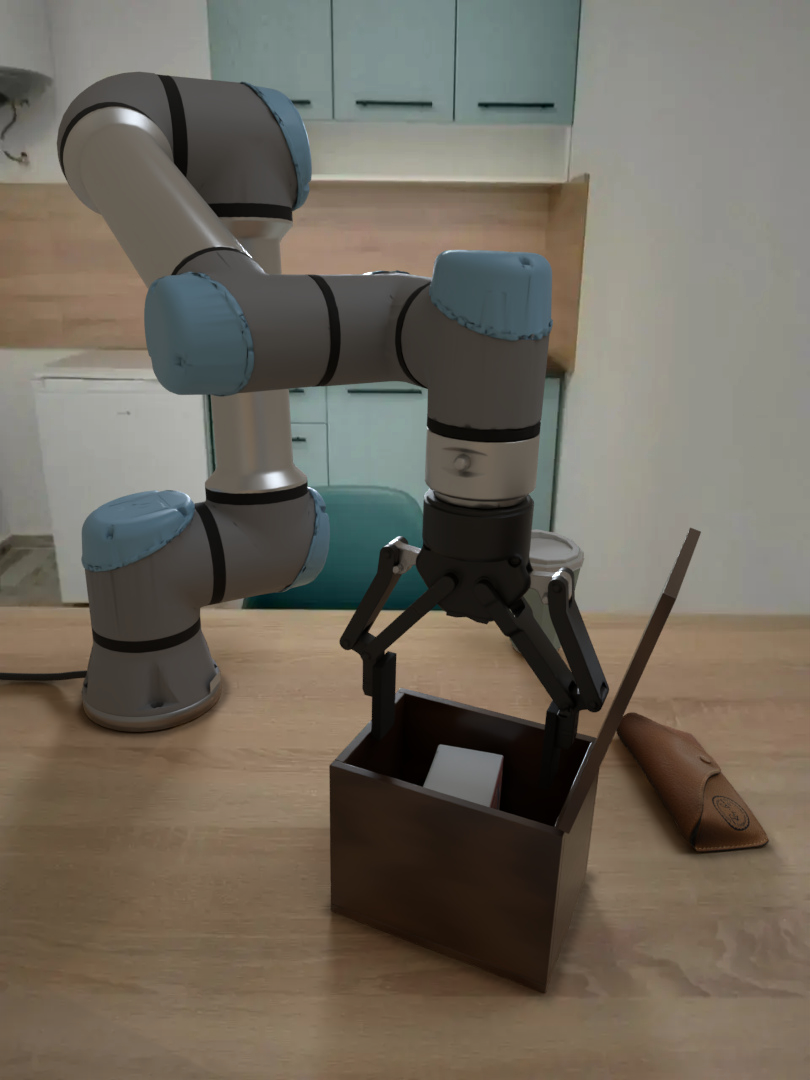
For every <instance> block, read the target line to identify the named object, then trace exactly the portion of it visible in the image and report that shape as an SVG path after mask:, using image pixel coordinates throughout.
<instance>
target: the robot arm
mask: <svg viewBox="0 0 810 1080" xmlns="http://www.w3.org/2000/svg"><path fill="white" fill-rule="evenodd" d="M56 150H57V151H56V152H57V158H58V164H59V166H60V168H61V172H62V174H63V177H64V178H65V180H66V182H67V184H68V186H69V187H70V189H71V190H72V192H73V194H74V195H75V196H76V198H77V199H78V200H79V201H80V202H81V203H82V204H83V205H84V206H85V207H87V208H88V209H90V210H91V211H93V212H94V213H96V214H98V215H100V216H101V217H102V218H103V220H104V221H105V223H106V225H107V226H108V228H109V229H110V232H111V233H112V234H113V236H114V237H115V239H116V241H117V242H118V244H119V245H120V247H121V248H122V250H123V252H124V254H125V255H126V257H127V258H128V260H129V262H130V263H131V265H132V266H133V268H134V270H135V271H136V272H137V275H138V276H139V277H140V279H141V280H142V282H143V284H144V285H145V287H146V288H147V292H146V296H145V298H144V299H145V300H144V308H143V309H144V310H143V324H144V336H145V345H146V350H147V353H148V356H149V357H150V360H151V366H152V367H151V368H152V371H153V374H154V375H155V377H156V379H157V381H158V383H159V384H160V385H161V386H162V387H163V388H164V389H165V390H166V391H168V392H170V393H172V394H176V395H177V396H205V395H209V396H210V402H211V403H210V404H211V413H212V425H213V436H214V437H213V438H214V445H215V446H214V448H215V449H214V450H215V460H216V461H215V462H216V468H215V470H213V472H212V473H211V475H209V477H208V478H206V480H205V482H204V491H205V500H204V501H199V502H194V501H193V500H192V498H191V497H190V496H189V494H187V493H185V492H183V491H180V490H174V489H173V490H172V489H171V490H170V489H165V490H161V491H158V490H157V489H156V490H155V489H154V490H145V491H140V492H135V493H131V494H127V495H123V496H121V497H118V498H115V499H112V500H109V501H108V502H105V503H103V504H101V505H100V506H98V507H97V508H96V509H95V510H93V511H91V513H90V514H89V515H88V516H87V517H86V518H85V520H84V521H83V524H82V527H81V558H80V559H81V565H82V567H83V568H84V575H85V576H84V577H85V584H86V592H87V599H88V600H87V601H88V608H89V617H90V626H91V633H92V634H91V635H92V646H91V650H90V654H89V658H88V664H87V668H86V670H74V671H66V672H65V671H64V672H50V673H49V672H47V673H45V672H44V673H43V672H41V673H38V672H36V673H34V672H33V673H31V672H30V673H29V672H2V671H1V672H0V681H22V682H23V681H25V682H27V681H28V682H47V681H48V682H49V681H51V682H52V681H53V682H54V681H68V680H75V679H84V680H83V682H82V686H81V697H82V707H83V711H84V713H85V715H86V716H87V718H89V719H90V720H91V721H92V722H94V723H95V724H96V725H99V726H101V727H104V728H107V729H109V730H114V731H121V732H131V733H133V732H136V733H142V732H153V731H160V730H165V729H169V728H173V727H177V726H180V725H183V724H186V723H188V722H190V721H192V720H195V719H197V718H198V717H201V716H202V715H204V714H205V713H207V712H208V711H209V710H210V709H211V708H212V707H213V706H214V705H215V704H216V703H217V702H218V700H219V699H220V696H221V693H222V678H221V677H222V676H221V675H222V674H221V669H220V668H219V666H218V664H217V662H216V660H215V659H214V658H213V657H212V654H211V650H210V647H209V645H208V642H207V640H206V638H205V635H204V632H203V629H202V621H201V608H204V607H207V606H212V605H218V604H223V603H227V602H228V603H229V602H233V601H238V600H242V599H247V598H252V597H256V596H257V597H258V596H261V595H267V594H273V593H278V594H279V593H284V592H287V591H288V590H290V589H293V588H297V587H302V586H306V585H308V584H310V583H312V582H314V581H315V580H316V579H317V577H318V576H319V574H320V573H321V572H323V569H324V567H325V565H326V562H327V560H328V556H329V555H328V554H329V551H330V543H331V542H330V541H331V525H330V518H329V514H328V513H326V509H327V505H326V503H325V500H324V498H323V496H322V495H321V494H320V493H319V491H318V490H316V489H314V488H312V487H310V486H309V483H308V481H309V480H308V476H307V474H305V473H304V472H303V471H302V470H301V469H300V468H298V466H296V464H295V462H294V454H293V453H294V452H293V451H294V450H293V439H292V437H293V436H292V435H293V434H292V418H291V404H290V403H291V402H290V389H291V390H292V389H303V388H319V387H334V386H347V385H360V384H373V383H386V382H401V383H407V384H410V385H413V386H416V387H420V388H422V389H426V390H427V411H426V412H427V413H426V436H425V437H426V438H425V462H424V463H425V464H424V466H425V467H424V482H425V484H426V486H427V487H428V488H429V489H428V490H427V491H426V492H424V494H423V504H422V505H423V506H422V529H421V538H422V546H421V547H420V548H419V547H418V546H417V547H416V546H414V545H411V544H409V541H408V539H407V538H406V537H405V536H401V535H398V536H396V537H395V538H393V539H392V540H391V541H389V542H388V543H387V544H386V545H384V546H383V547H381V549H380V550H379V556H378V562H377V569H376V574H375V576H374V577H373V579H372V581H371V583H370V585H369V586H368V588H367V590H366V591H365V593H364V595H363V597H362V599H361V601H360V603H359V604H358V606H357V607H356V609H355V611H354V613H353V615H352V617H351V619H350V620H349V622H348V624H347V626H346V627H345V629H344V631H343V633H342V635H341V636H340V638H339V640H338V641H339V645H340V647H341V648H342V649H343V650H344V651H353V652H355V653H356V654H358V656H359V657H360V659H361V661H362V688H361V689H362V691H363V695H364V696H367V697H371V720H372V725H371V739H374V740H377V741H380V740H381V739H382V738H383V737H384V736H385V735H386V733H387V732H388V731H389V730H390V729H391V727H392V726H393V725H394V723H395V693H396V685H397V682H396V681H397V654H398V653H396V652H393V651H389V650H387V649H389V648H390V647H391V646H392V645H393V644H394V643H395V642H396V641H398V640H399V639H400V638H401V637H402V636H403V635H404V634H405V633H406V632H408V631H409V630H410V629H411V628H412V627H413V626H414V625H416V623H418V622H419V621H420V620H421V619H422V618H424V617H425V616H426V615H427V614H428V613H429V612H430V611H432V609H435V607H436V606H438V607H439V608H440V609H442V611H444V612H445V615H446V616H447V617H452V618H455V619H456V618H457V619H458V618H467V619H468V620H471V621H473V622H476V623H478V624H483V625H488V624H489V623H490V622H491V623H492V622H495V624H496V626H497V628H498V629H499V630H500V631H501V633H502V634H503V635H504V636H505V637H507V638H509V639H510V638H511V640H512V641H513V643H514V644H515V646H516V647H517V649H518V650H519V651H520V653H519V654H520V655H521V656H522V657H523V659H524V661H525V662H526V663H527V664H528V666H529V667H530V669H531V671H532V672H533V674H534V675H535V676H536V678H537V679H538V681H539V682H540V684H541V686H542V687H543V688H544V690H545V691H546V692H547V694H548V696H549V697H550V698H551V702H550V704H549V706H548V707H547V709H546V712H545V720H544V724H545V730H544V739H543V749H542V758H541V768H540V778H539V787H538V788H539V789H543V790H546V791H549V789H550V787H551V785H552V783H553V780H554V778H555V776H556V774H557V772H558V767H559V758H560V750H561V749H565V750H569V749H570V747H571V746H572V744H573V742H574V740H575V738H576V735H577V733H578V727H579V719H580V712H581V711H586V710H587V711H588V712H591V713H598V712H600V711H601V710H602V709H603V706H604V704H605V702H606V699H607V697H608V695H609V692H610V686H609V683H608V681H607V678H606V675H605V673H604V671H603V668H602V665H601V663H600V660H599V658H598V655H597V653H596V649H595V648H594V645H593V643H592V639H591V637H590V635H589V632H588V629H587V627H586V624H585V621H584V618H583V617H582V613H581V612H580V609H579V606H578V604H577V602H576V597H575V596H576V594H575V593H576V588H575V580H574V573H573V571H572V570H571V569H570V568H567V567H563V568H561V569H559V571H558V572H545V571H534V570H533V568H532V566H531V563H530V558H529V554H530V545H531V533H532V530H533V520H534V511H535V501H534V499H533V498H532V497H531V495H530V494H531V493H533V492H534V491H535V490H536V488H537V479H538V464H539V463H538V462H539V452H540V451H539V450H540V439H541V435H540V434H541V425H542V424H541V421H542V417H543V416H542V415H543V407H544V406H543V405H544V395H545V385H546V377H547V376H546V374H547V365H548V356H549V346H550V336H551V335H550V334H552V333H551V332H552V329H553V326H554V322H553V321H554V319H552V304H553V303H552V299H553V297H552V295H553V270H552V266H551V264H550V262H549V260H548V259H547V258H546V257H545V256H543V255H541V254H539V253H536V252H527V251H506V250H485V249H484V250H483V249H448V250H443V251H441V252H440V253H439V254H438V255H437V256H436V258H435V259H434V262H433V269H432V274H431V275H432V276H424V275H417V274H411V273H410V272H408V271H404V270H402V271H401V270H398V269H396V270H375V271H369V272H365V273H361V274H359V273H358V274H357V273H356V274H355V273H353V274H352V273H351V274H291V273H289V274H288V273H287V274H286V273H282V259H281V258H282V257H281V243H282V240H283V238H284V237H285V236H286V234H287V233H289V231H290V230H291V229H292V227H293V226H294V219H293V217H294V216H293V212H295V211H296V210H298V209H301V208H302V207H303V205H304V204H305V203H306V201H307V199H308V197H309V194H310V185H309V183H310V182H311V181H312V173H313V165H312V164H313V163H312V153H311V151H312V150H311V146H310V141H309V136H308V132H307V129H306V126H305V123H304V121H303V118H302V116H301V113H300V111H299V110H298V109H297V107H295V105H294V103H293V102H292V100H291V99H290V98H289V97H288V96H287V95H286V94H285V93H283V92H282V91H280V90H278V89H275V88H271V87H264V86H258V85H254V84H252V83H250V82H246V81H240V82H238V81H227V80H217V79H206V78H197V77H185V76H176V75H168V74H157V73H154V72H146V71H130V72H128V71H127V72H121V73H116V74H113V75H110V76H107V77H105V78H102V79H100V80H97V81H95V82H94V83H92V84H91V85H89V86H88V87H86V88H85V89H84V90H83V91H81V92H80V93H78V95H76V97H75V98H73V100H72V101H71V102H70V104H69V105H68V106H67V108H66V110H65V112H64V113H63V115H62V118H61V121H60V123H59V126H58V129H57V137H56ZM413 566H415V568H416V570H417V572H418V575H420V578H421V579H422V581H423V582H424V584H425V586H426V588H427V590H425V591H424V592H423V593H422V594H421V595H420V596H419V597H418V598H417V599H415V600H414V602H412V603H411V604H410V605H409V606H408V607H406V609H405V610H404V611H403V612H401V614H399V615H398V616H397V617H396V618H395V619H394V620H393V621H391V622H390V624H388V625H387V626H386V627H385V628H384V629H383V630H382V631H380V632H379V634H377V635H374V634H372V633H370V630H371V628H372V627H373V626H374V623H375V622H376V620H377V618H378V616H379V615H380V613H381V611H382V610H383V608H384V606H385V604H386V603H387V602H388V599H389V598H390V596H391V595H392V592H393V591H394V589H395V587H396V586H397V585H398V582H399V580H400V579H401V577H402V575H404V574H406V573H407V572H408V571H409V570H411V568H412V567H413ZM529 588H530V589H534V590H536V591H537V592H538V594H539V596H540V599H541V602H542V603H543V604H545V605H548V607H549V614H550V618H551V621H552V624H553V626H554V629H555V631H556V634H557V636H558V639H559V642H560V644H561V646H560V648H561V649H562V652H563V654H564V656H565V659H566V662H567V663H566V662H565V660H564V659H563V658H562V656H561V655H560V653H559V651H558V652H557V650H556V649H555V647H554V646H553V644H552V643H551V642H550V640H549V639H548V637H547V636H546V634H545V633H544V631H543V630H542V628H541V627H540V625H539V624H538V622H537V621H536V620H535V618H534V616H533V611H532V608H531V607H530V605H529V604H528V602H527V601H526V599H525V598H524V596H523V595H524V594H525V593H526V592H527V591H528V590H529ZM509 609H511V611H512V613H511V611H510V610H509Z"/></svg>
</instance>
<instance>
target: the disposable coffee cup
mask: <svg viewBox="0 0 810 1080" xmlns="http://www.w3.org/2000/svg"><path fill="white" fill-rule="evenodd" d="M529 558H530V563H531V566H532V568H533V570H534V571H545V572H558V571H559V569H561V568H563V567H567V568H570V569H571V570H572V571H573V573H574V580H575V589H576V588H577V584H578V580H579V575H580V572H581V569H582V568H583V566H584V562H585V552H584V550H583V549H582V548H581V547H580V545H578V544H577V543H576V541H574V540H573V539H571V538H569V537H566V536H564V535H562V534H560V533H558V532H553V531H547V530H544V529H532V533H531V545H530V554H529ZM523 596H524V598H525V599H526V601H527V602H528V604H529V605H530V607H531V608H532V611H533V616H534V618H535V620H536V621H537V622H538V624H539V625H540V627H541V628H542V630H543V631H544V633H545V634H546V636H547V637H548V639H549V640H550V642H551V643H552V644H553V646H554V647H555V649H556V650H557V652H558V653H559V649H561V644H560V642H559V639H558V636H557V634H556V631H555V629H554V626H553V624H552V621H551V618H550V614H549V607H548V605H545V604H543V603H542V602H541V599H540V596H539V594H538V592H537V591H536V590H534V589H530V588H529V590H528V591H527V592H526V593H525V594H524V595H523ZM509 610H510V611H511V609H509ZM511 613H512V611H511ZM509 641H510V642H511V646H512V648H513V649H514V651H515V652H517V653H519V654H521V653H520V651H519V650H518V649H517V647H516V646H515V644H514V643H513V641H512V640H511V638H510V637H509Z"/></svg>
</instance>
